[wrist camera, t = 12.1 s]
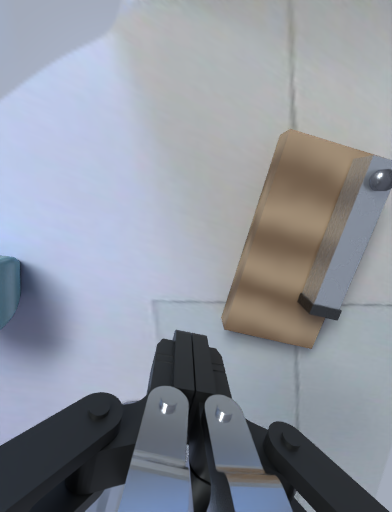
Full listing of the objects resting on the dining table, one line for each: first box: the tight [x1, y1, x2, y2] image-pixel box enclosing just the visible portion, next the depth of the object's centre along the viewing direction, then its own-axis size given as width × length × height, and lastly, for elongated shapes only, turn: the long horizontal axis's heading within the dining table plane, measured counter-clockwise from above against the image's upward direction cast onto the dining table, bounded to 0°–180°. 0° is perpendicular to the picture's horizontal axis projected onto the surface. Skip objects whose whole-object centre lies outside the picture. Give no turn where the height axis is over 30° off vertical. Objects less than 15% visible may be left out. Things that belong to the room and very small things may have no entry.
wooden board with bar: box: [221, 129, 390, 349], centre depth 30 cm, size 24×12×4 cm, turn 165°
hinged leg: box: [297, 155, 392, 320], centre depth 26 cm, size 17×3×4 cm, turn 166°
